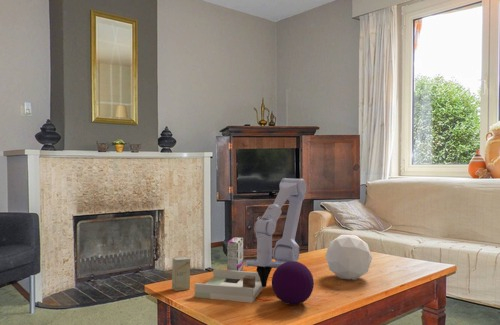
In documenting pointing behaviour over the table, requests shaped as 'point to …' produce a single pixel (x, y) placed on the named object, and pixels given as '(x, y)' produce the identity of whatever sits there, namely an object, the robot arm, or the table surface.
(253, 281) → the walnut block
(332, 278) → the table surface
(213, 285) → the board
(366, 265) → the geometric orb
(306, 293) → the toy ball
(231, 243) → the candy bar box
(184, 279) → the skincare box
